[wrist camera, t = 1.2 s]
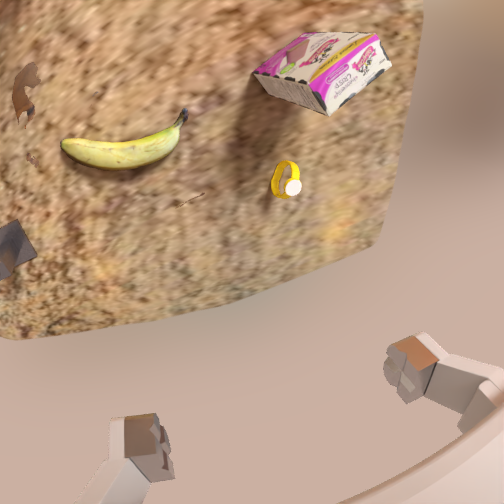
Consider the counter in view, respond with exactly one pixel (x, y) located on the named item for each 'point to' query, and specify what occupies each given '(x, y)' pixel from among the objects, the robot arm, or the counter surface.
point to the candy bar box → (324, 69)
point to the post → (13, 248)
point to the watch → (291, 185)
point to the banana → (97, 151)
